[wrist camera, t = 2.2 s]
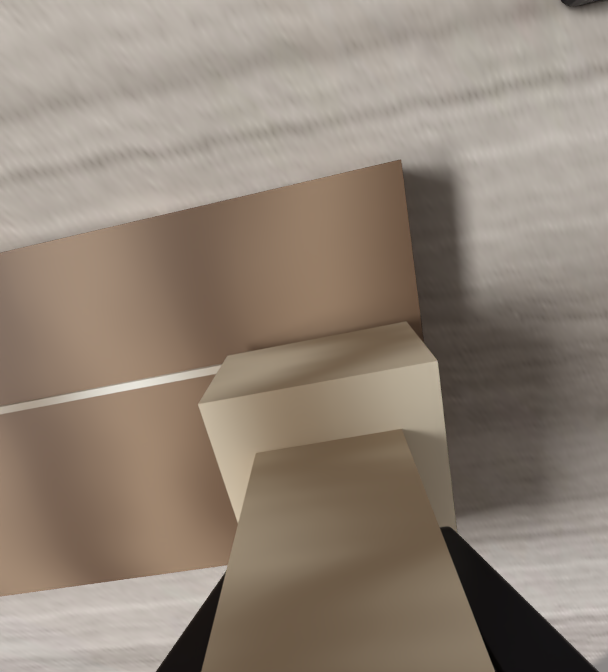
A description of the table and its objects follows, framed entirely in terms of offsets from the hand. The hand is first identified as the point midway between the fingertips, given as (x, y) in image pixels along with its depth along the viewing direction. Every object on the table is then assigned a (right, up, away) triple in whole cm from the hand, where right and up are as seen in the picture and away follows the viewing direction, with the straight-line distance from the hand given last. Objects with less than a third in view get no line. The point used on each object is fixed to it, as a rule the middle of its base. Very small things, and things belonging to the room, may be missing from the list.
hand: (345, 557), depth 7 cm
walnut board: (-9, +1, +7) cm, 11 cm away
